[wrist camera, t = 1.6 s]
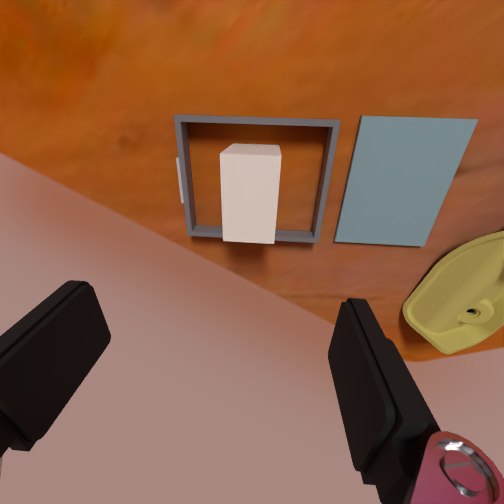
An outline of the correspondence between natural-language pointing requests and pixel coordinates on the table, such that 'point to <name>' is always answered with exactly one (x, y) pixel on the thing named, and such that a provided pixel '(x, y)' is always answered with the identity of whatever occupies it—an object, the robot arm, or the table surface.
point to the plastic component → (461, 296)
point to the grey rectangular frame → (182, 120)
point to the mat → (400, 178)
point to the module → (250, 192)
